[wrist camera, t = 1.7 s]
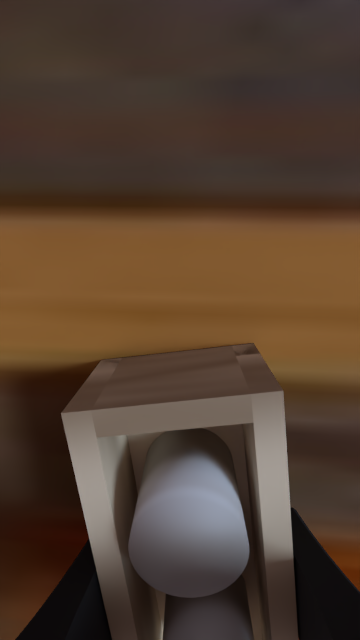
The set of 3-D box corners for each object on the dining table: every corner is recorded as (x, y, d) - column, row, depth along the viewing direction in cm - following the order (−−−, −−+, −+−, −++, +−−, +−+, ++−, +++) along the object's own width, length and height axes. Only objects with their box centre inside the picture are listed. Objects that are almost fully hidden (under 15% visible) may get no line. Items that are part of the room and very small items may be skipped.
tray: (101, 360, 11) (51, 425, 7) (253, 343, 11) (289, 401, 7) (153, 635, 14) (138, 792, 10) (276, 627, 13) (311, 786, 9)
